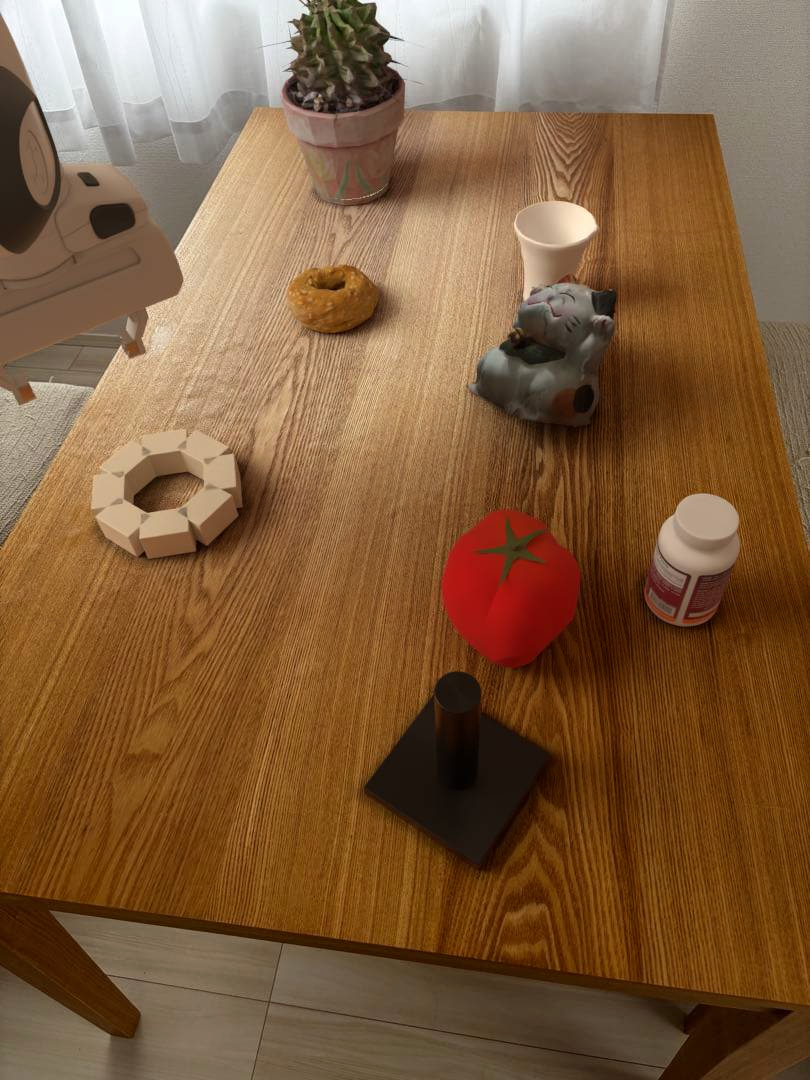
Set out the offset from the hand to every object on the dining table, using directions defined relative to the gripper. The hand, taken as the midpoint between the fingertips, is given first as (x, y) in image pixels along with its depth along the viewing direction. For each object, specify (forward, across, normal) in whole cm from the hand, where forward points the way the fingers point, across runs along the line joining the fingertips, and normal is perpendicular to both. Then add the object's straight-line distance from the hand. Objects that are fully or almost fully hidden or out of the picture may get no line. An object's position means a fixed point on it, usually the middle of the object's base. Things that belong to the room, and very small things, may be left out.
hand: (81, 375), depth 71 cm
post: (+16, +9, -40) cm, 44 cm away
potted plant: (+16, +47, +36) cm, 62 cm away
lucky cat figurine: (+16, +41, -10) cm, 45 cm away
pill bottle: (+16, +34, -38) cm, 53 cm away
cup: (+16, +52, +2) cm, 55 cm away
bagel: (+16, +31, +15) cm, 38 cm away
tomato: (+16, +21, -31) cm, 41 cm away
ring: (+16, +3, -2) cm, 17 cm away
